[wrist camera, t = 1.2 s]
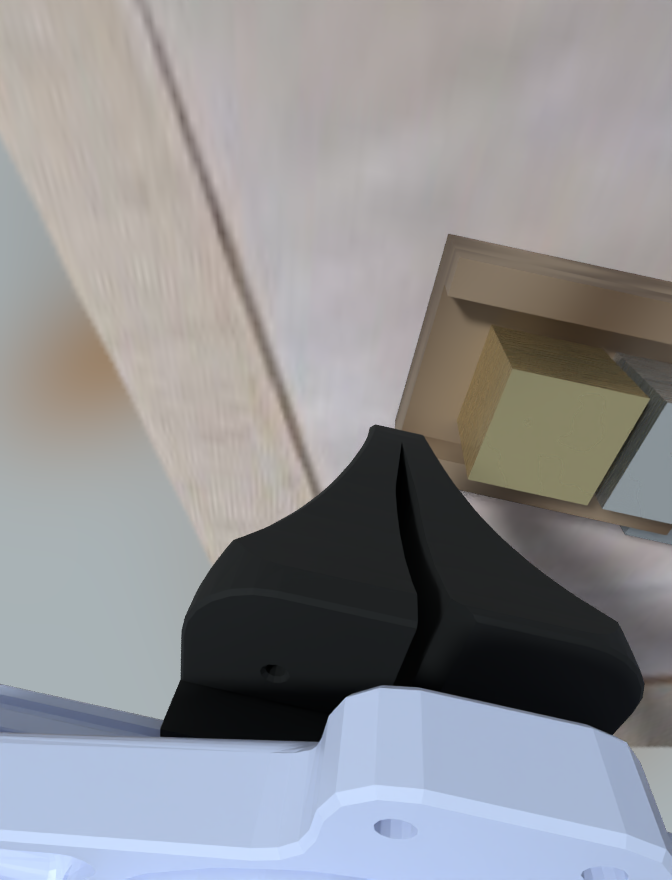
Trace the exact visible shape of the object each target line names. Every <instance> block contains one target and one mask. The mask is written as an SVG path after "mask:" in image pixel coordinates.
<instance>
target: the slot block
mask: <svg viewBox="0 0 672 880" xmlns="http://www.w3.org/2000/svg"><path fill="white" fill-rule="evenodd" d="M491 325H496V326H500V327H505V328H510V329H514V330H519V331H523V332H528V333H533V334H537V335H542V336H547V337H551V338H556V339H560V340H565V341H570V342H574V343H579V344H583V345H588V346H593V347H597V348H602V349H603V350H604V351H605V352H606V353H607V354H608V355H609V356H610V357H611V358H612V359H613V357H614V355H615V353H616V352H620V353H625V354H629V355H634V356H639V357H643V358H648V359H653V360H657V361H662V362H666V363H671V364H672V282H669V281H664V280H660V279H655V278H651V277H646V276H641V275H637V274H632V273H627V272H623V271H618V270H614V269H609V268H604V267H600V266H595V265H590V264H586V263H581V262H576V261H572V260H567V259H563V258H558V257H553V256H549V255H544V254H539V253H535V252H530V251H525V250H521V249H516V248H512V247H507V246H502V245H498V244H493V243H488V242H484V241H479V240H475V239H470V238H465V237H461V236H456V235H451V234H448V237H447V241H446V244H445V248H444V251H443V255H442V258H441V262H440V265H439V269H438V272H437V276H436V279H435V283H434V286H433V290H432V293H431V297H430V300H429V304H428V307H427V311H426V314H425V318H424V321H423V325H422V329H421V332H420V336H419V339H418V343H417V346H416V350H415V353H414V357H413V360H412V364H411V367H410V371H409V374H408V378H407V381H406V385H405V388H404V392H403V395H402V399H401V402H400V406H399V409H398V413H397V416H396V420H395V429H398V430H402V431H407V432H412V433H416V434H421V435H423V436H424V437H425V439H426V440H427V442H428V444H429V445H430V447H431V449H432V450H433V452H434V454H435V455H436V457H437V458H438V460H439V462H440V463H441V465H442V466H443V468H444V469H445V471H446V472H447V474H448V475H449V477H450V478H451V480H452V481H453V483H454V484H455V485H456V487H457V488H458V489H459V490H462V491H466V492H471V493H476V494H480V495H485V496H489V497H494V498H498V499H503V500H507V501H512V502H517V503H521V504H526V505H530V506H535V507H539V508H544V509H548V510H553V511H558V512H562V513H567V514H571V515H576V516H580V517H585V518H589V519H594V520H599V521H603V522H608V523H612V524H617V525H621V526H626V527H631V528H635V529H640V530H644V531H649V532H653V533H658V534H662V535H667V534H668V533H669V531H670V530H671V529H672V524H669V523H665V522H660V521H655V520H651V519H646V518H642V517H637V516H633V515H628V514H623V513H619V512H614V511H610V510H605V509H602V508H601V506H600V504H599V502H598V500H597V498H596V496H595V495H593V497H592V498H591V500H590V502H589V503H588V505H582V504H578V503H573V502H569V501H564V500H560V499H555V498H550V497H546V496H541V495H537V494H532V493H528V492H523V491H518V490H514V489H509V488H505V487H500V486H496V485H491V484H487V483H482V482H477V481H473V480H468V478H467V473H466V468H465V462H464V457H463V452H462V446H461V441H460V436H459V430H458V425H457V418H458V416H459V413H460V410H461V407H462V405H463V402H464V399H465V396H466V394H467V391H468V388H469V385H470V383H471V380H472V377H473V374H474V372H475V369H476V366H477V363H478V360H479V358H480V355H481V352H482V349H483V347H484V344H485V341H486V338H487V336H488V333H489V330H490V327H491Z"/></svg>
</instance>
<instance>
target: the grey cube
mask: <svg viewBox="0 0 672 880" xmlns="http://www.w3.org/2000/svg"><path fill="white" fill-rule="evenodd" d="M613 360H614V361H615V362H616V364H617V365H618V366H619V367H620V368H621V369H622V370H623V371H624V372H625V373H626V374H627V375H628V376H629V377H630V378H631V379H632V380H633V381H634V382H635V383H636V384H637V385H638V386H639V388H640V389H641V390H642V391H643V392H644V393H645V394H646V395H647V396H648V397H649V398H650V400H649V402H648V403H647V405H646V407H645V408H644V410H643V412H642V414H641V415H640V417H639V419H638V420H637V422H636V424H635V425H634V427H633V429H632V431H631V432H630V434H629V436H628V437H627V439H626V441H625V442H624V444H623V446H622V447H621V449H620V451H619V453H618V454H617V456H616V458H615V459H614V461H613V463H612V464H611V466H610V468H609V469H608V471H607V473H606V475H605V476H604V478H603V480H602V481H601V483H600V485H599V486H598V488H597V490H596V492H595V493H594V495H595V496H596V498H597V500H598V502H599V504H600V506H601V508H602V509H605V510H610V511H614V512H619V513H623V514H628V515H633V516H637V517H642V518H646V519H651V520H655V521H660V522H665V523H669V524H672V364H671V363H666V362H662V361H657V360H653V359H648V358H643V357H639V356H634V355H629V354H625V353H620V352H616V353H615V355H614V357H613Z"/></svg>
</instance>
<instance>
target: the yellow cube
mask: <svg viewBox="0 0 672 880" xmlns="http://www.w3.org/2000/svg"><path fill="white" fill-rule="evenodd" d="M649 400H650V398H649V397H648V396H647V395H646V394H645V393H644V392H643V391H642V390H641V389H640V388H639V386H638V385H637V384H636V383H635V382H634V381H633V380H632V379H631V378H630V377H629V376H628V375H627V374H626V373H625V372H624V371H623V370H622V369H621V368H620V367H619V366H618V365H617V364H616V362H615V361H614V360H613V359H612V358H611V357H610V356H609V355H608V354H607V353H606V352H605V351H604V350H603V349H602V348H597V347H593V346H588V345H583V344H579V343H574V342H570V341H565V340H560V339H556V338H551V337H547V336H542V335H537V334H533V333H528V332H523V331H519V330H514V329H510V328H505V327H500V326H496V325H491V327H490V330H489V333H488V336H487V338H486V341H485V344H484V347H483V349H482V352H481V355H480V358H479V360H478V363H477V366H476V369H475V372H474V374H473V377H472V380H471V383H470V385H469V388H468V391H467V394H466V396H465V399H464V402H463V405H462V407H461V410H460V413H459V416H458V418H457V425H458V430H459V436H460V441H461V446H462V452H463V457H464V462H465V468H466V473H467V478H468V480H473V481H477V482H482V483H487V484H491V485H496V486H500V487H505V488H509V489H514V490H518V491H523V492H528V493H532V494H537V495H541V496H546V497H550V498H555V499H560V500H564V501H569V502H573V503H578V504H582V505H588V503H589V502H590V500H591V498H592V497H593V495H594V493H595V492H596V490H597V488H598V486H599V485H600V483H601V481H602V480H603V478H604V476H605V475H606V473H607V471H608V469H609V468H610V466H611V464H612V463H613V461H614V459H615V458H616V456H617V454H618V453H619V451H620V449H621V447H622V446H623V444H624V442H625V441H626V439H627V437H628V436H629V434H630V432H631V431H632V429H633V427H634V425H635V424H636V422H637V420H638V419H639V417H640V415H641V414H642V412H643V410H644V408H645V407H646V405H647V403H648V402H649Z"/></svg>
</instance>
